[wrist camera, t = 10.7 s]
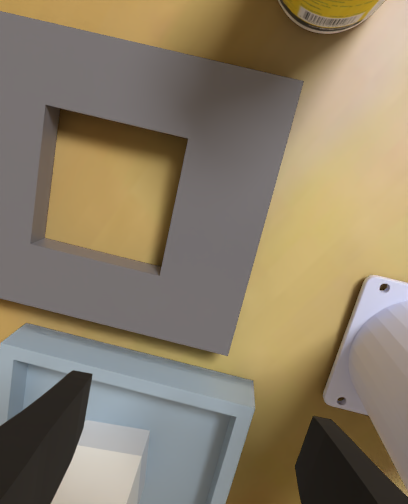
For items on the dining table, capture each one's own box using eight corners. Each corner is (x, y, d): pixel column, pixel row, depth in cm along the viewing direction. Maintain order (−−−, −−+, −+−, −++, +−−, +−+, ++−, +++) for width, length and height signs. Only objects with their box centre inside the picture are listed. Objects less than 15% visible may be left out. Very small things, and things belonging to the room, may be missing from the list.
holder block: (298, 87, 18) (303, 81, 16) (228, 342, 21) (227, 356, 20) (-19, 14, 18) (-41, 1, 17) (-36, 276, 22) (-55, 284, 20)
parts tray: (253, 380, 22) (255, 408, 19) (200, 554, 25) (196, 595, 23) (26, 323, 22) (0, 342, 20) (6, 501, 26) (-18, 537, 23)
